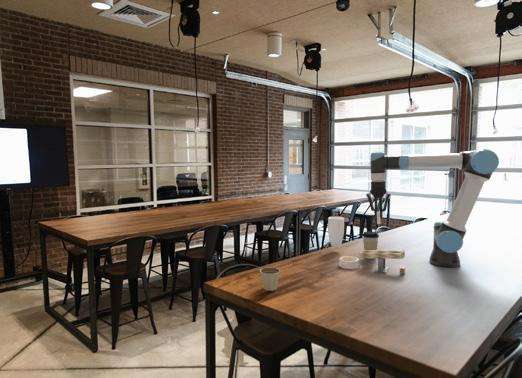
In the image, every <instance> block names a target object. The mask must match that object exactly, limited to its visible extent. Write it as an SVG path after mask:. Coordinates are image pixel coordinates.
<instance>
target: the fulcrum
mask: <svg viewBox="0 0 522 378" xmlns="http://www.w3.org/2000/svg"><path fill="white" fill-rule="evenodd" d="M389 269H390V266H388V265H386V258H377V265H376V267H375V269H374V270H373V274H375V273H376V274H383V275H387V273H388V271H389ZM405 273H406V265H400V268H399V275H403V276H404V275H405Z"/></svg>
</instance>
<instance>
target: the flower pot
mask: <svg viewBox="0 0 522 378" xmlns="http://www.w3.org/2000/svg"><path fill="white" fill-rule="evenodd" d="M259 272H260V276H261V279H262V287H263V290H265V291H266V292H267V291H271V292H273V291H277V289H278V283H279V275H280V272H281V269H280V268H278V267H274V266H273V267H272V266H271V267H263V268H260V269H259Z"/></svg>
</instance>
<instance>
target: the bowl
mask: <svg viewBox="0 0 522 378" xmlns="http://www.w3.org/2000/svg"><path fill="white" fill-rule="evenodd" d="M346 258H348V259H349V260H350V261H344V259H346ZM338 261H339V262H338V263H339V265H338V266H339V267H341V268H342V269H347V270H354V269H355V270H356V269H359V267H360V258H359V257H356V256H349V255H348V256H347V255H346V256H341V257H340V258H339V259H338Z"/></svg>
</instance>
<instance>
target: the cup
mask: <svg viewBox="0 0 522 378" xmlns="http://www.w3.org/2000/svg"><path fill="white" fill-rule="evenodd" d="M327 229H328V230H327V231H328V238H329V242H330V244H331V247H332V248H333V249H339V248H340V247H341V245H342V242H343V241H344V240H343V239H344V235H345V217H342V216H329V217H328V221H327Z"/></svg>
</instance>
